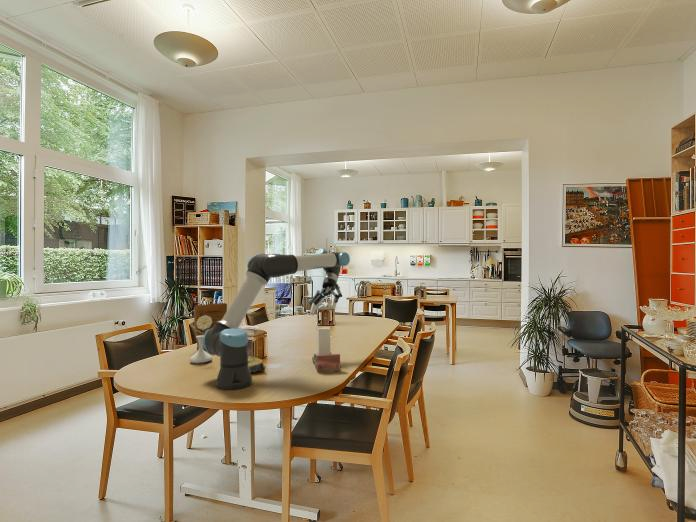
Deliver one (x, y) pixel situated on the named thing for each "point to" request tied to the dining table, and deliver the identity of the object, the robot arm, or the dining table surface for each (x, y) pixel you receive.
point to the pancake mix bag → (213, 312)
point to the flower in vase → (202, 355)
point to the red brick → (327, 362)
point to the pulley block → (255, 364)
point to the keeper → (323, 340)
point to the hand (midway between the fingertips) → (322, 310)
